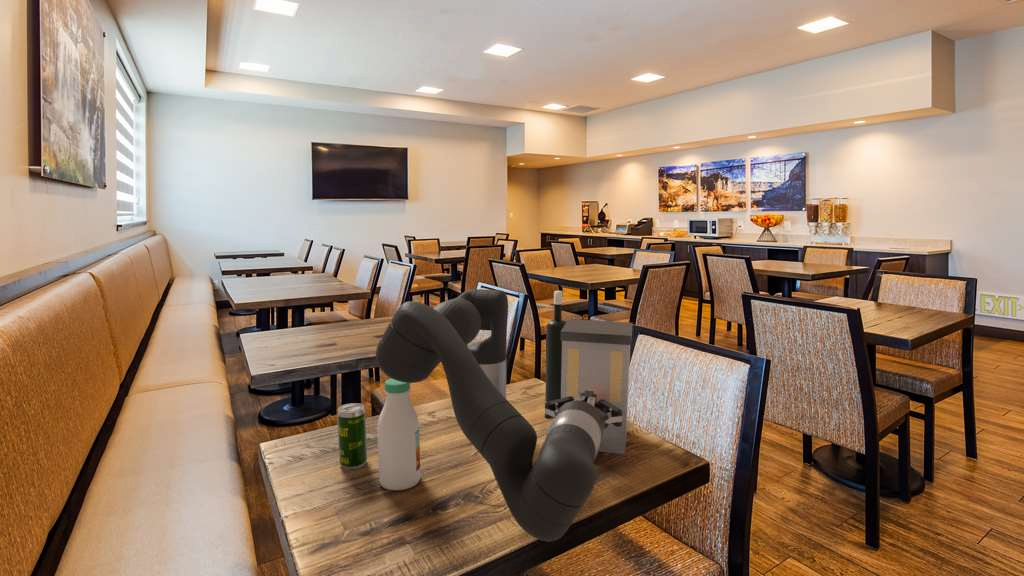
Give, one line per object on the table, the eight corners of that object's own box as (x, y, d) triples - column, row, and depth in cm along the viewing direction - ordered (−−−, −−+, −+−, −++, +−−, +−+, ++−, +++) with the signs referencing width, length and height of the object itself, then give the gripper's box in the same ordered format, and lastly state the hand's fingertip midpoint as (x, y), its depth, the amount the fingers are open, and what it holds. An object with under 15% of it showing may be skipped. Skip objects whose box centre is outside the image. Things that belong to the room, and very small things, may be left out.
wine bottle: (568, 398, 148) (571, 289, 143) (564, 405, 142) (567, 293, 138) (547, 395, 149) (549, 288, 145) (543, 403, 144) (545, 292, 139)
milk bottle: (411, 494, 99) (408, 389, 96) (372, 489, 100) (368, 386, 97) (426, 473, 106) (424, 375, 103) (389, 469, 108) (386, 373, 105)
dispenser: (626, 455, 115) (631, 335, 110) (558, 447, 118) (560, 331, 114) (627, 431, 127) (632, 322, 123) (566, 424, 130) (568, 319, 126)
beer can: (357, 455, 114) (355, 400, 112) (372, 463, 110) (370, 407, 108) (334, 464, 110) (331, 408, 108) (349, 473, 106) (347, 415, 104)
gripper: (529, 454, 80) (551, 412, 96) (620, 465, 76) (627, 420, 93) (530, 405, 79) (552, 372, 95) (622, 415, 75) (629, 378, 92)
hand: (589, 396), depth 94 cm, fingers closed
